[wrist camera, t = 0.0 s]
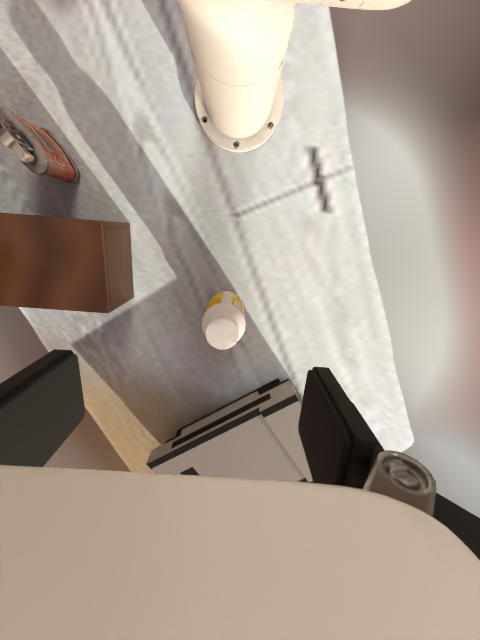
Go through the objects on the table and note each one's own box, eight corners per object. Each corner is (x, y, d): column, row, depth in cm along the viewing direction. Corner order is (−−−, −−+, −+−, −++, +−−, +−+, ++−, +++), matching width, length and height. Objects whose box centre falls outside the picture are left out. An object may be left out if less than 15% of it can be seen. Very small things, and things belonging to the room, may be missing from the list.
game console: (157, 437, 57) (144, 469, 49) (286, 370, 52) (294, 394, 44) (209, 496, 63) (205, 533, 55) (330, 441, 58) (344, 473, 50)
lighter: (85, 175, 41) (38, 158, 31) (69, 188, 41) (19, 175, 32) (47, 124, 39) (-16, 88, 29) (31, 138, 39) (-36, 108, 30)
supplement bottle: (204, 320, 48) (193, 350, 36) (211, 286, 46) (201, 306, 34) (239, 328, 49) (240, 360, 37) (248, 294, 47) (251, 316, 35)
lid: (-9, 303, 38) (-45, 313, 33) (-31, 210, 34) (-75, 206, 29) (111, 311, 39) (93, 322, 34) (103, 221, 35) (81, 219, 30)
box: (40, 290, 47) (-3, 303, 38) (27, 214, 42) (-25, 210, 34) (134, 297, 47) (111, 311, 39) (129, 223, 43) (103, 221, 35)
